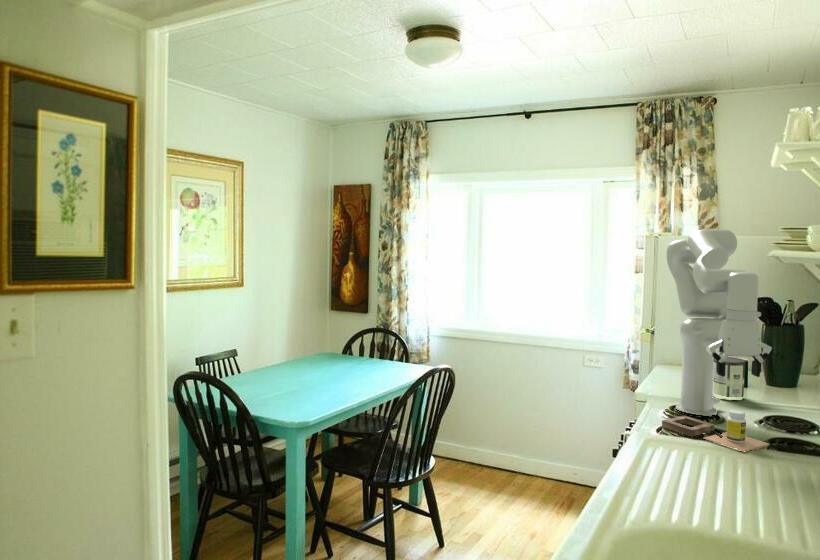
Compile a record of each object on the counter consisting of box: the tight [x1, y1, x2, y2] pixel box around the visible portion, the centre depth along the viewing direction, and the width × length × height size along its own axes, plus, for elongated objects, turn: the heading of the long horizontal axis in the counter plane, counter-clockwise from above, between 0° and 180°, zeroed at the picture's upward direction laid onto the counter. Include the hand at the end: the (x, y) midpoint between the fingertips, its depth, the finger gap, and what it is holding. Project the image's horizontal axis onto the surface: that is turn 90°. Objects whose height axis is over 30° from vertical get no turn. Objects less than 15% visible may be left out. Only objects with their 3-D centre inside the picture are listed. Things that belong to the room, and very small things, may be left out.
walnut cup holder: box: [661, 415, 716, 438], centre depth 182 cm, size 10×10×2 cm
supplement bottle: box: [726, 409, 747, 443], centre depth 171 cm, size 5×5×8 cm
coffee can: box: [712, 356, 746, 397], centre depth 218 cm, size 10×10×14 cm
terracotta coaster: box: [702, 431, 770, 452], centre depth 171 cm, size 12×12×1 cm
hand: (738, 375), depth 170 cm, fingers open, 9 cm apart
